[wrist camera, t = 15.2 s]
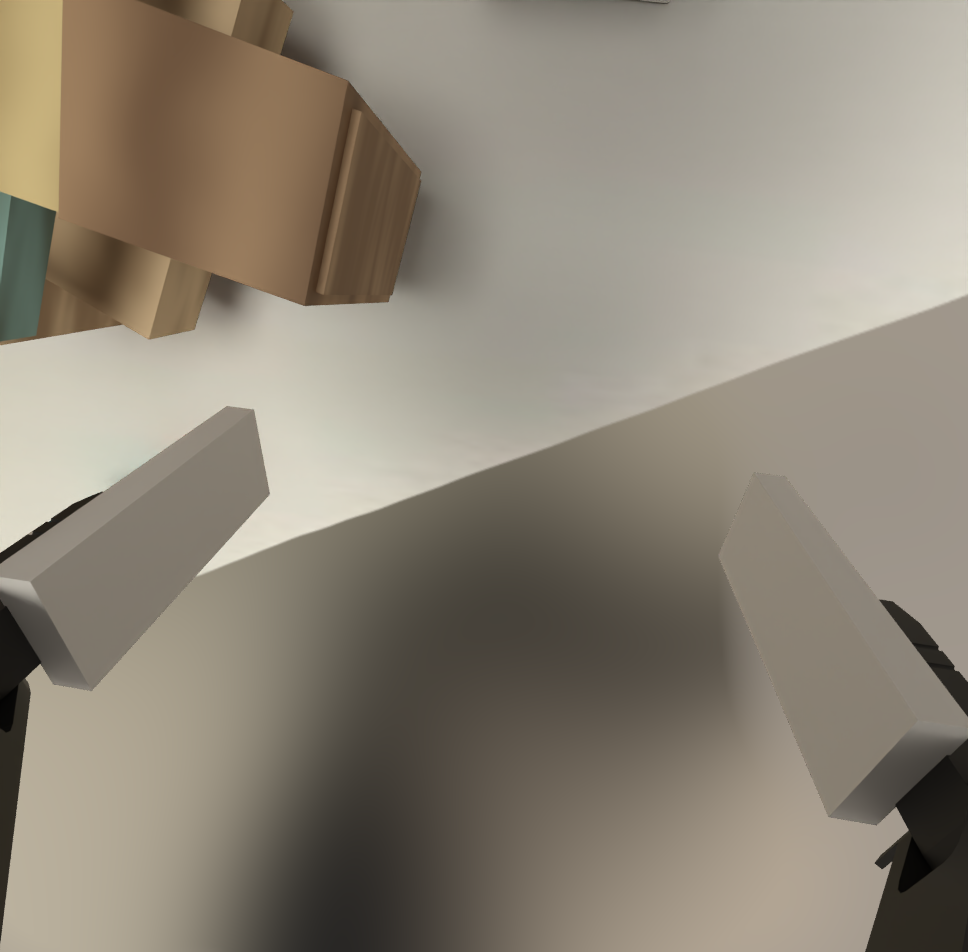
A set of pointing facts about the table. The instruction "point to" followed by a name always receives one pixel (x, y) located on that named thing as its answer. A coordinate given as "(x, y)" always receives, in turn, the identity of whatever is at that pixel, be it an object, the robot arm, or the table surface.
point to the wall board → (100, 258)
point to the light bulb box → (661, 0)
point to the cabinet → (202, 149)
